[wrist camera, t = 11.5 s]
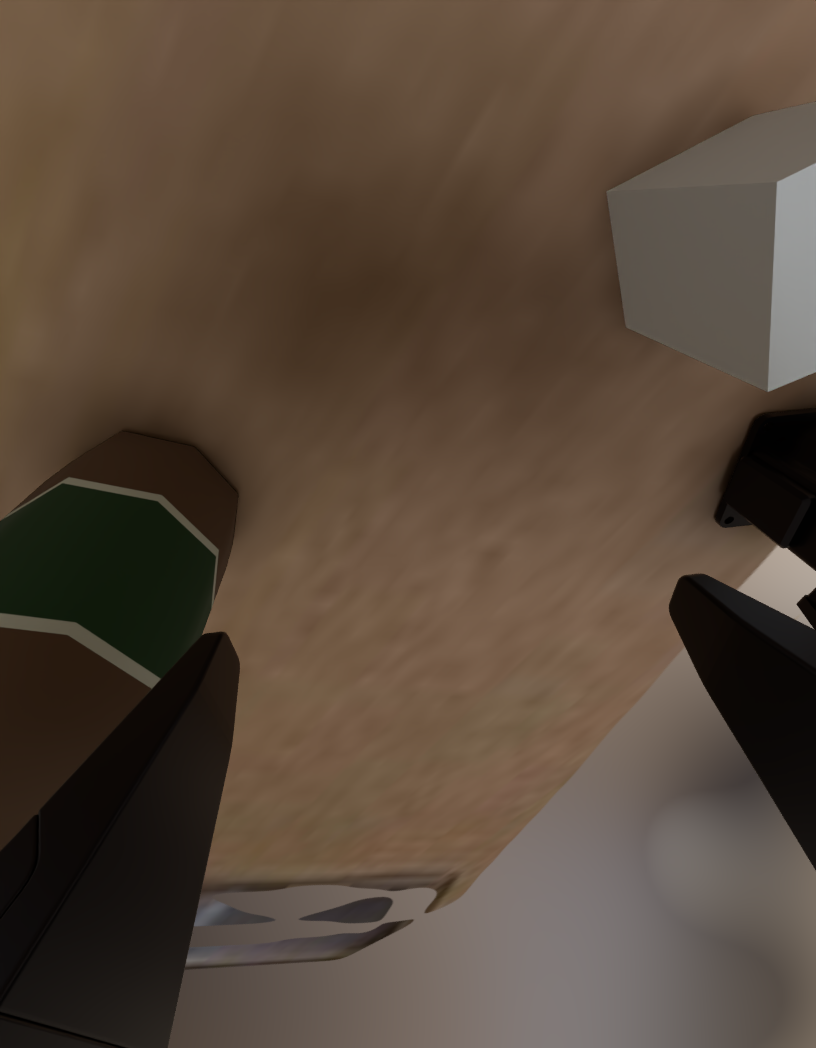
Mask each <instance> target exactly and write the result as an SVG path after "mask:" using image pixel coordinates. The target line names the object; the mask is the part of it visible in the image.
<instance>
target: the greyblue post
mask: <svg viewBox="0 0 816 1048" xmlns="http://www.w3.org/2000/svg"><path fill="white" fill-rule="evenodd" d="M606 192H607V199H608V206H609V213H610V220H611V227H612V234H613V241H614V248H615V255H616V262H617V269H618V276H619V283H620V290H621V298H622V305H623V312H624V319H625V326H626V328H628V329H630V330H633V331H635V332H637V333H639V334H641V335H644V336H646V337H648V338H650V339H652V340H655V341H657V342H659V343H661V344H663V345H665V346H668V347H670V348H672V349H674V350H676V351H679V352H681V353H683V354H685V355H687V356H690V357H692V358H694V359H696V360H698V361H701V362H703V363H705V364H707V365H709V366H712V367H714V368H716V369H718V370H720V371H723V372H725V373H727V374H729V375H731V376H733V377H736V378H738V379H740V380H742V381H744V382H747V383H749V384H751V385H753V386H755V387H758V388H760V389H762V390H764V391H766V392H769V391H771V390H774V389H776V388H779V387H781V386H784V385H786V384H788V383H791V382H793V381H796V380H798V379H800V378H803V377H805V376H808V375H810V374H812V373H815V372H816V101H815V102H811V103H806V104H802V105H797V106H793V107H789V108H784V109H780V110H775V111H771V112H767V113H762V114H758V115H753V116H751V117H749V118H747V119H745V120H743V121H741V122H739V123H738V124H736V125H734V126H732V127H730V128H728V129H726V130H724V131H722V132H720V133H718V134H716V135H714V136H712V137H711V138H709V139H707V140H705V141H703V142H701V143H699V144H697V145H695V146H693V147H691V148H689V149H687V150H685V151H684V152H682V153H680V154H678V155H676V156H674V157H672V158H670V159H668V160H666V161H664V162H662V163H660V164H658V165H657V166H655V167H653V168H651V169H649V170H647V171H645V172H643V173H641V174H639V175H637V176H635V177H633V178H631V179H630V180H628V181H626V182H624V183H622V184H620V185H618V186H616V187H614V188H612V189H610V190H608V191H606Z"/></svg>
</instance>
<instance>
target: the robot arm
mask: <svg viewBox="0 0 816 1048" xmlns="http://www.w3.org/2000/svg"><path fill="white" fill-rule="evenodd" d="M766 424H767V425H766ZM765 425H766V426H765ZM764 426H765V427H764ZM715 521H716V522H717V523H718V524H719V525H720V526H721V527H723V528H728V527H736V526H745V525H754V526H755V527H756V528H757V529H759V530H760V531H761V532H762V533H764V534H765V535H766V536H767V537H769V538H770V539H771V540H772V541H773V542H775V543H776V544H777V545H778V546H780V547H781V548H788V549H789V550H790V551H791V552H793V553H794V554H795V555H796V556H798V557H799V558H800V559H801V560H803V561H804V562H805V563H806V564H808V565H809V566H810V567H811V568H813V569H814V570H815V571H816V408H813V409H804V410H795V411H786V412H776V413H767V414H763V415H761V416H760V417H758V418H757V419H756V420H755V422H754V423H753V425H752V428H751V430H750V433H749V435H748V438H747V440H746V443H745V445H744V448H743V450H742V453H741V455H740V458H739V460H738V463H737V465H736V468H735V470H734V473H733V475H732V478H731V480H730V483H729V485H728V488H727V490H726V493H725V495H724V498H723V500H722V503H721V505H720V508H719V510H718V513H717V515H716V518H715ZM797 606H798V607H799V608H800V610H801V611H802V613H803V614H804V615H805V617H806V618H807V620H808V621H809V622H810V624H811V625H812V627H813V628H814V629H815V630H814V629H812V628H810V627H808V626H806V625H804V624H802V623H800V622H799V621H797V620H795V619H793V618H790V617H789V616H787V615H785V614H782V613H780V612H779V611H777V610H775V609H773V608H771V607H769V606H767V605H765V604H763V603H761V602H759V601H757V600H755V599H753V598H751V597H749V596H747V595H745V594H743V593H741V592H739V591H737V590H735V589H733V588H731V587H730V586H728V585H726V584H724V583H722V582H720V581H718V580H716V579H714V578H712V577H710V576H708V575H705V574H692V575H684V576H682V577H681V578H679V580H678V582H677V584H676V587H675V590H674V592H673V595H672V598H671V600H670V603H669V612H670V616H671V618H672V620H673V622H674V624H675V627H676V629H677V631H678V633H679V635H680V637H681V639H682V641H683V643H684V646H685V648H686V650H687V651H688V654H689V656H690V658H691V660H692V662H693V664H694V667H695V669H696V670H697V673H698V675H699V677H700V679H701V681H702V683H703V685H704V686H705V688H706V690H707V692H708V693H709V695H710V697H711V699H712V700H713V702H714V703H715V705H716V707H717V708H718V710H719V712H720V713H721V715H722V717H723V718H724V720H725V721H726V723H727V725H728V727H729V728H730V730H731V732H732V733H733V735H734V736H735V738H736V740H737V741H738V743H739V745H740V746H741V748H742V750H743V751H744V753H745V755H746V756H747V758H748V759H749V761H750V763H751V764H752V766H753V768H754V769H755V771H756V773H757V774H758V776H759V778H760V779H761V781H762V782H763V784H764V786H765V788H766V789H767V791H768V793H769V794H770V796H771V798H772V799H773V801H774V802H775V804H776V806H777V807H778V809H779V810H780V812H781V814H782V816H783V817H784V819H785V820H786V822H787V824H788V825H789V827H790V829H791V830H792V832H793V834H794V835H795V837H796V839H797V840H798V842H799V844H800V845H801V847H802V849H803V850H804V852H805V854H806V855H807V857H808V859H809V860H810V862H811V864H812V865H813V867H814V868H815V870H816V588H815V589H814V590H813V591H812V592H811V593H810V594H809V595H805V596H804V597H803V598H802V599H801V600H800V601H799V602H798V603H797ZM239 672H240V663H239V658H238V656H237V654H236V651H235V649H234V647H233V645H232V643H231V641H230V639H229V636H228V635H227V634H226V633H225V632H215V633H207V634H204V635H202V636H201V637H200V638H199V639H198V640H197V641H196V642H195V643H194V644H193V645H192V646H191V647H190V648H189V649H188V650H187V651H186V653H185V654H184V655H183V656H182V657H181V658H180V659H179V660H178V661H177V662H176V663H175V664H174V665H173V666H172V668H171V669H170V670H169V671H168V672H167V673H166V674H165V675H164V676H163V677H162V678H161V679H160V680H159V682H158V683H157V684H156V685H155V686H154V687H153V688H152V689H151V690H150V691H149V692H148V693H147V694H146V695H145V697H144V698H143V699H142V700H141V701H140V702H139V703H138V704H137V705H136V706H135V707H134V708H133V709H132V711H131V712H130V713H129V714H128V715H127V716H126V717H125V718H124V719H123V720H122V721H121V722H120V723H119V725H118V726H117V727H116V728H115V729H114V730H113V731H112V732H111V733H110V734H109V735H108V736H107V737H106V738H105V740H104V741H103V742H102V743H101V744H100V745H99V746H98V747H97V748H96V749H95V750H94V751H93V752H92V754H91V755H90V756H89V757H88V758H87V759H86V760H85V761H84V762H83V763H82V764H81V765H80V766H79V767H78V769H77V770H76V771H75V772H74V773H73V774H72V775H71V776H70V777H69V778H68V779H67V780H66V781H65V783H64V784H63V785H62V786H61V787H60V788H59V789H58V790H57V791H56V792H55V793H54V794H53V795H52V797H51V798H50V799H49V800H48V801H47V802H46V803H45V804H44V805H43V806H42V807H41V808H40V810H39V813H38V814H37V815H34V816H33V817H32V818H31V819H30V820H29V821H28V822H27V823H26V824H25V825H24V826H23V827H22V829H21V830H20V831H19V832H18V833H17V834H16V835H15V836H14V837H13V838H12V839H11V840H10V841H9V842H8V843H7V844H6V846H5V847H4V848H3V849H2V850H1V851H0V1048H168V1044H169V1039H170V1033H171V1030H172V1025H173V1020H174V1016H175V1011H176V1006H177V1002H178V997H179V992H180V988H181V983H182V978H183V973H184V969H185V964H186V959H187V955H188V950H189V945H190V941H191V936H192V931H193V927H194V922H195V917H196V913H197V908H198V903H199V899H200V894H201V889H202V885H203V880H204V875H205V871H206V866H207V861H208V857H209V852H210V847H211V843H212V838H213V833H214V829H215V824H216V819H217V815H218V810H219V805H220V801H221V796H222V791H223V787H224V782H225V777H226V773H227V768H228V763H229V758H230V753H231V748H232V741H233V732H234V722H235V712H236V702H237V692H238V682H239Z"/></svg>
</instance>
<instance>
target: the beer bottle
mask: <svg viewBox="0 0 816 1048" xmlns="http://www.w3.org/2000/svg"><path fill="white" fill-rule="evenodd" d="M237 503H238V495H237V493H236V492H235V490H234V489H233V488H232V487H231V486H230V485H229V484H228V483H227V482H226V481H225V480H224V478H223V477H222V476H221V475H220V474H219V473H218V472H217V471H216V470H215V469H214V467H213V466H212V465H211V464H210V463H209V462H208V461H207V460H206V459H205V458H204V456H203V455H202V454H201V453H200V452H199V451H198V450H197V449H196V448H195V447H193V446H188V445H184V444H179V443H175V442H170V441H166V440H161V439H157V438H152V437H148V436H143V435H139V434H134V433H130V432H119V433H118V434H116V435H114V436H113V437H111V438H109V439H108V440H106V441H105V442H103V443H101V444H100V445H98V446H97V447H95V448H93V449H92V450H90V451H88V452H87V453H85V454H84V455H82V456H80V457H79V458H77V459H76V460H74V461H72V462H71V463H69V464H68V465H67V466H65V467H64V468H63V469H61V470H60V471H59V472H57V473H56V474H55V475H53V476H52V477H51V478H49V479H48V480H47V481H45V482H44V483H43V484H42V485H41V486H39V487H38V488H37V489H36V490H35V491H34V492H33V493H32V494H30V495H29V496H28V497H27V498H26V499H25V500H24V501H23V502H21V503H20V504H19V505H18V506H17V507H16V508H15V509H13V510H12V511H11V512H10V513H9V514H8V515H7V516H6V517H4V518H3V519H2V520H1V521H0V851H1V850H2V849H3V848H4V847H5V846H6V844H7V843H8V842H9V841H10V840H11V839H12V838H13V837H14V836H15V835H16V834H17V833H18V832H19V831H20V830H21V829H22V827H23V826H24V825H25V824H26V823H27V822H28V821H29V820H30V819H31V818H32V817H33V816H34V815H37V814H38V813H39V810H40V808H41V807H42V806H43V805H44V804H45V803H46V802H47V801H48V800H49V799H50V798H51V797H52V795H53V794H54V793H55V792H56V791H57V790H58V789H59V788H60V787H61V786H62V785H63V784H64V783H65V781H66V780H67V779H68V778H69V777H70V776H71V775H72V774H73V773H74V772H75V771H76V770H77V769H78V767H79V766H80V765H81V764H82V763H83V762H84V761H85V760H86V759H87V758H88V757H89V756H90V755H91V754H92V752H93V751H94V750H95V749H96V748H97V747H98V746H99V745H100V744H101V743H102V742H103V741H104V740H105V738H106V737H107V736H108V735H109V734H110V733H111V732H112V731H113V730H114V729H115V728H116V727H117V726H118V725H119V723H120V722H121V721H122V720H123V719H124V718H125V717H126V716H127V715H128V714H129V713H130V712H131V711H132V709H133V708H134V707H135V706H136V705H137V704H138V703H139V702H140V701H141V700H142V699H143V698H144V697H145V695H146V694H147V693H148V692H149V691H150V690H151V689H152V688H153V687H154V686H155V685H156V684H157V683H158V682H159V680H160V679H161V678H162V677H163V676H164V675H165V674H166V673H167V672H168V671H169V670H170V669H171V668H172V666H173V665H174V664H175V663H176V662H177V661H178V660H179V659H180V658H181V657H182V656H183V655H184V654H185V653H186V651H187V650H188V649H189V648H190V647H191V646H192V645H193V644H194V643H195V642H196V641H197V640H198V639H199V638H200V637H201V636H202V633H203V630H204V628H205V625H206V622H207V619H208V617H209V614H210V611H211V608H212V605H213V603H214V600H215V597H216V594H217V592H218V589H219V586H220V583H221V581H222V578H223V575H224V572H225V570H226V567H227V563H228V559H229V556H230V552H231V548H232V545H233V538H234V529H235V520H236V512H237Z"/></svg>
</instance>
